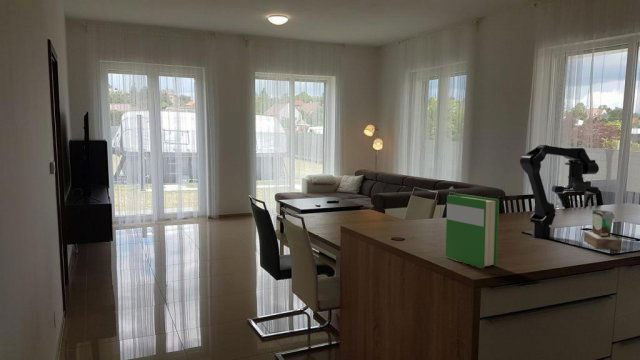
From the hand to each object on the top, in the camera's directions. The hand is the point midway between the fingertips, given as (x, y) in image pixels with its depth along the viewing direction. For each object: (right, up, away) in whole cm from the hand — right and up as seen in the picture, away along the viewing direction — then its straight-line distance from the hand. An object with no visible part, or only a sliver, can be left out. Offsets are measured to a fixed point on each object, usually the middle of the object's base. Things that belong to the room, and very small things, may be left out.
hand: (574, 207), depth 212 cm
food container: (+1, -11, -20) cm, 23 cm away
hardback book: (-64, -17, -46) cm, 81 cm away
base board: (0, -15, -20) cm, 25 cm away
